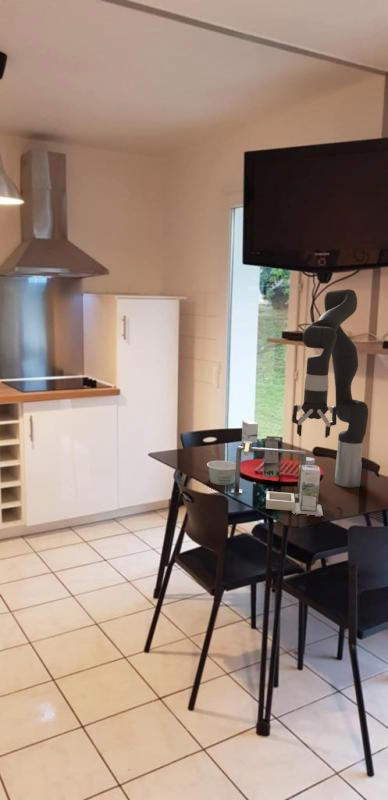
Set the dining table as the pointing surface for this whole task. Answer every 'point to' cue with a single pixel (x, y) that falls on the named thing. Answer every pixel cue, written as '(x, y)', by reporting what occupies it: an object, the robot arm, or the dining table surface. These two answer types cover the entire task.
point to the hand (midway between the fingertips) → (312, 436)
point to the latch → (247, 447)
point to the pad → (298, 511)
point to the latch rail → (240, 448)
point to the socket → (280, 500)
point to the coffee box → (272, 457)
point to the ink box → (249, 432)
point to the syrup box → (309, 488)
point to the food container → (221, 472)
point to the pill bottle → (308, 462)
